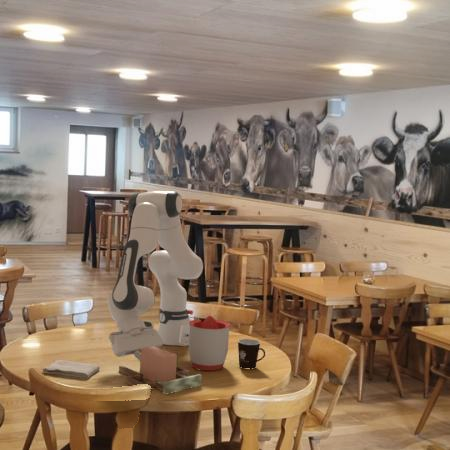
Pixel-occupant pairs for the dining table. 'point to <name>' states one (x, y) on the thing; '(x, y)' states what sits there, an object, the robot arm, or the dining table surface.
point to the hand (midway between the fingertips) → (145, 362)
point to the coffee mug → (249, 352)
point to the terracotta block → (158, 364)
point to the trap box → (167, 387)
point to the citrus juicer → (208, 343)
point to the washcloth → (71, 369)
